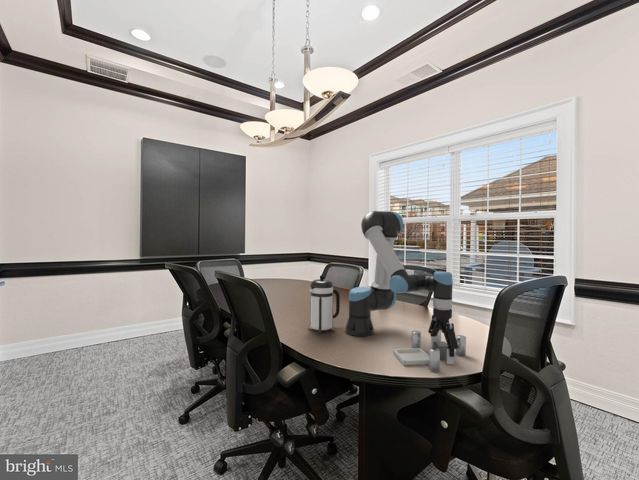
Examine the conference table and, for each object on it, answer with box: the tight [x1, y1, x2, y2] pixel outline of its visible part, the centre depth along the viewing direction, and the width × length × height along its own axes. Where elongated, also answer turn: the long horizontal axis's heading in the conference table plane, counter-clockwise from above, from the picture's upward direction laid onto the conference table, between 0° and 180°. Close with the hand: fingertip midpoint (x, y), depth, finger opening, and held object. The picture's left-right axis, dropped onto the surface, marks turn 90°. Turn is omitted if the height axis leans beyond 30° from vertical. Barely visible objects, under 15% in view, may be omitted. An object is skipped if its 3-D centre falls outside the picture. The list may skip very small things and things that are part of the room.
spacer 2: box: [428, 347, 441, 373], centre depth 120 cm, size 4×4×8 cm
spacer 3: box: [437, 330, 442, 342], centre depth 145 cm, size 4×4×8 cm
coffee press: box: [307, 274, 341, 335], centre depth 168 cm, size 17×16×30 cm
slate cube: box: [433, 341, 448, 361], centre depth 132 cm, size 5×5×6 cm
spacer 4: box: [455, 334, 467, 357], centre depth 135 cm, size 4×4×8 cm
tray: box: [392, 347, 429, 367], centre depth 131 cm, size 13×13×2 cm
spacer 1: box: [411, 329, 422, 349], centre depth 141 cm, size 4×4×8 cm
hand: (441, 357), depth 132 cm, fingers open, 13 cm apart
